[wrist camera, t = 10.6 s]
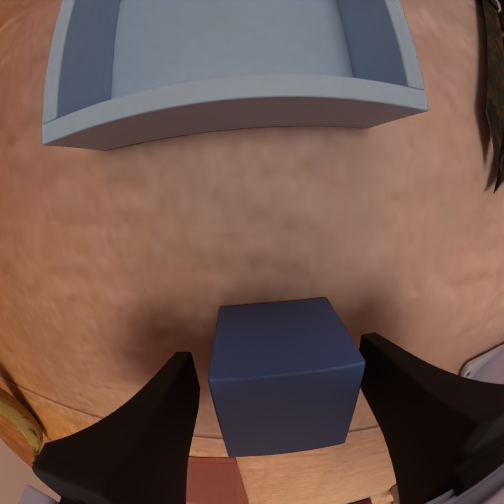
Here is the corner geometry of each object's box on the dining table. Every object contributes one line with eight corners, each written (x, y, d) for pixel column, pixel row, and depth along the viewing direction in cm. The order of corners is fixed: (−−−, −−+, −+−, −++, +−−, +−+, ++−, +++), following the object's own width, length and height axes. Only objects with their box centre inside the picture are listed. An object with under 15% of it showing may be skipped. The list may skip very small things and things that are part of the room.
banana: (-10, 354, 12) (-35, 380, 8) (5, 360, 12) (-22, 389, 8) (42, 436, 15) (27, 462, 11) (58, 442, 15) (44, 471, 11)
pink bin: (248, 500, 17) (249, 533, 13) (147, 493, 17) (141, 522, 13) (235, 457, 14) (235, 505, 10) (103, 443, 14) (88, 481, 10)
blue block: (321, 375, 12) (345, 443, 8) (231, 383, 12) (228, 457, 8) (326, 296, 11) (366, 361, 7) (219, 305, 11) (206, 380, 7)
